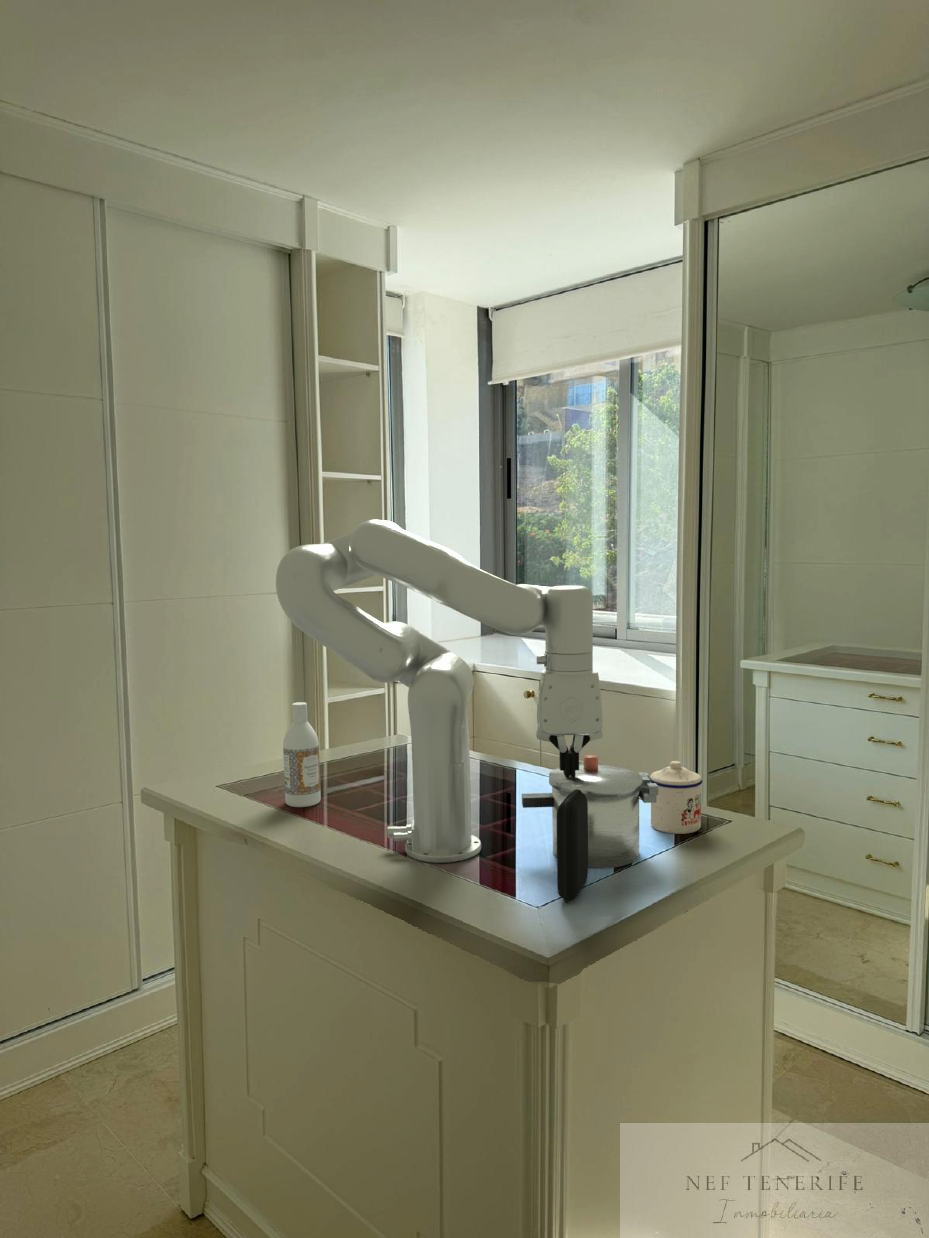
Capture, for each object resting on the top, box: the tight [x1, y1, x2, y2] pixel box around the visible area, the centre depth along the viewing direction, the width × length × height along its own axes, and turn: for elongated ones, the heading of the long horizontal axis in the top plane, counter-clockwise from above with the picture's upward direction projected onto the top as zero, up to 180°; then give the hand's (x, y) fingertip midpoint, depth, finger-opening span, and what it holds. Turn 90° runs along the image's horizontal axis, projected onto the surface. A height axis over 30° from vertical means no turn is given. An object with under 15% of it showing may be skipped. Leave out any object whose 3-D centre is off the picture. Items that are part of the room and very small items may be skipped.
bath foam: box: [282, 701, 322, 808], centre depth 176 cm, size 7×7×20 cm
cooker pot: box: [521, 772, 658, 869], centre depth 145 cm, size 21×14×12 cm, turn 91°
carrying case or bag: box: [556, 789, 589, 904], centre depth 129 cm, size 11×3×15 cm, turn 160°
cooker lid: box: [548, 754, 651, 797], centre depth 145 cm, size 16×15×3 cm
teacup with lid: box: [649, 760, 703, 835], centre depth 158 cm, size 12×9×12 cm
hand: (569, 774), depth 145 cm, fingers closed
